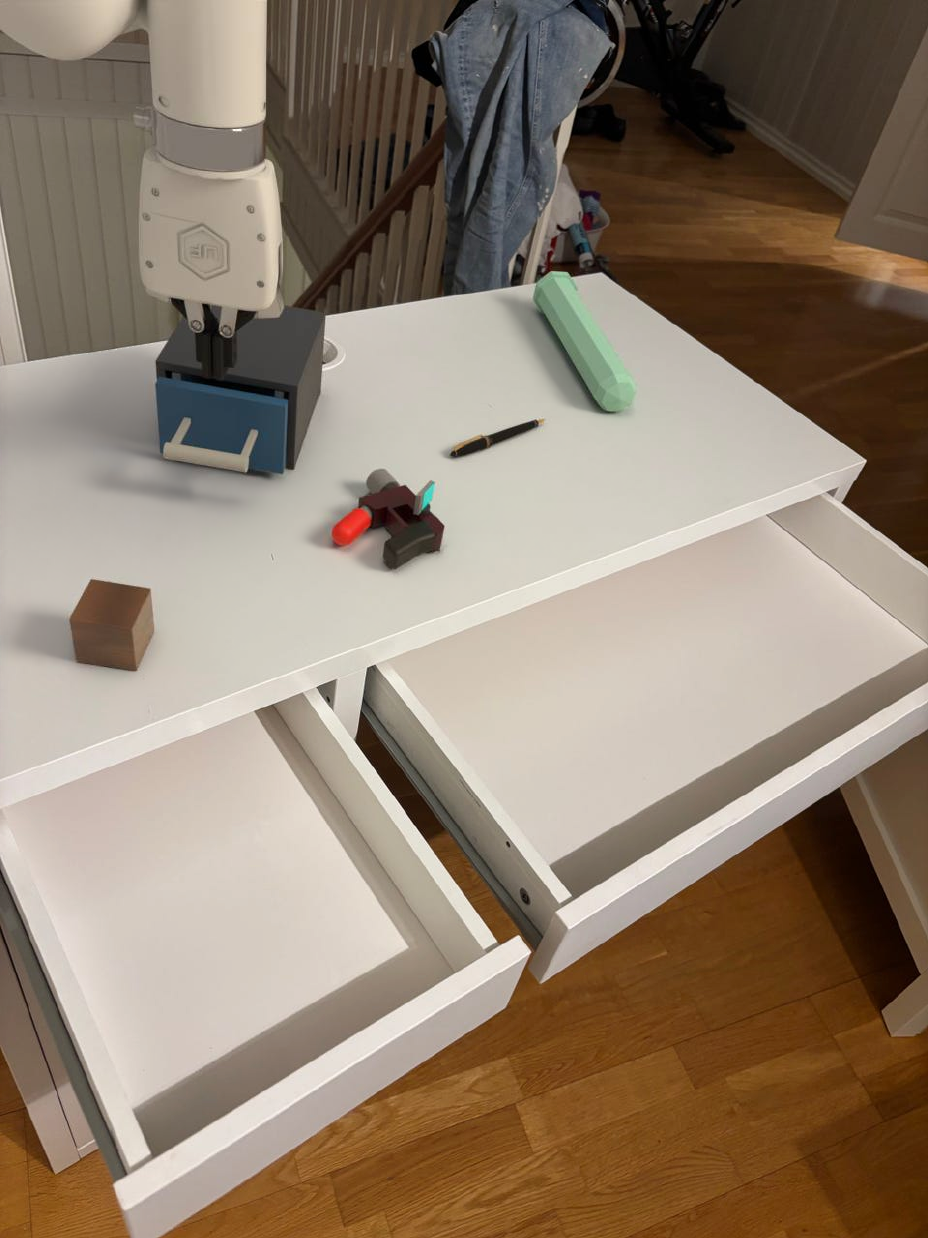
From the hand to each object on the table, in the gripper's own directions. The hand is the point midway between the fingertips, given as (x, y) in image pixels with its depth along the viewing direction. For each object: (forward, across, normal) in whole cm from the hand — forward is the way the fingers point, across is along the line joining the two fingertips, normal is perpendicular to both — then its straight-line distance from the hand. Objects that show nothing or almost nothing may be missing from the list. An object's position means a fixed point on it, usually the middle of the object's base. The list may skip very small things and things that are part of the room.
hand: (217, 370), depth 79 cm
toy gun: (+12, +15, -3) cm, 19 cm away
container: (+12, +35, +36) cm, 52 cm away
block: (+12, -2, -22) cm, 25 cm away
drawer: (+11, 0, +6) cm, 12 cm away
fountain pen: (+12, +26, +15) cm, 32 cm away
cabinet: (+12, 0, +11) cm, 16 cm away
